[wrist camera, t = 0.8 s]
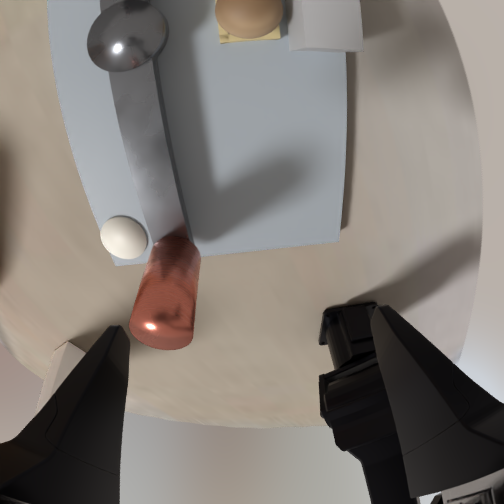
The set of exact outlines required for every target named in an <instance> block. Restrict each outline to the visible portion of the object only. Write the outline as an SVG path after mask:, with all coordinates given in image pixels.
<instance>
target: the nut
mask: <svg viewBox="0 0 504 504" xmlns="http://www.w3.org/2000/svg"><path fill="white" fill-rule="evenodd" d="M215 16H216V19H217V22H218V23H219V25H220V26H221V27H222V28H223V29H224V30H225V31H226V32H227V33H229V34H231V35H233V36H236V37H239V38H245V39H253V38H259V37H262V36H265V35H267V34H269V33H270V32H272V31H273V30H274V29H275V28H276V27H277V26H278V25H279V23H280V21H281V19H282V16H283V5H282V2H281V0H217V2H216V5H215Z"/></svg>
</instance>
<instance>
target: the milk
mask: <svg viewBox="0 0 504 504" xmlns="http://www.w3.org/2000/svg"><path fill="white" fill-rule="evenodd" d="M85 354H86V353H85V352H84V351H82V350H81V349H79V348H78V347H76V346H75V345H73V344H72V343H70V342H69V341H67V342H66V343H65V344H63V345H62V346H60V347H59V348H58V349H56V350H55V351H54V353H53V356H52V359H51V361H50V364H49V367H48V370H47V373H46V377H45V380H44V383H43V386H42V390H41V393H40V397H39V400H38V404H37V408H36V412H35V416H36V415H37V413H38V412H39V411H40V410H41V409H42V408H43V406H44V405H45V404H46V403H47V401H48V400H49V399H50V398H51V396H52V395H53V394H54V393H55V391H56V390H57V389H58V387H59V386H60V385H61V384H62V382H63V381H64V380H65V379H66V377H67V376H68V375H69V374H70V372H71V371H72V370H73V369H74V367H75V366H76V365H77V364H78V363H79V361H80V360H81V359H82V358H83V356H84V355H85ZM35 416H34V417H35Z"/></svg>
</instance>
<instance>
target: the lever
mask: <svg viewBox="0 0 504 504" xmlns="http://www.w3.org/2000/svg"><path fill="white" fill-rule="evenodd" d="M100 10H101V14H100V15H99V16H98V17H97V18H96V20H95V21H94V22H93V24H92V26H91V28H90V30H89V33H88V37H87V50H88V54H89V57H90V58H91V60H92V61H93V63H94V64H95V65H96V66H98V67H99V68H101V69H103V70H105V71H108V73H109V79H110V84H111V90H112V95H113V100H114V105H115V110H116V114H117V119H118V123H119V128H120V132H121V136H122V140H123V144H124V148H125V152H126V156H127V160H128V164H129V168H130V171H131V175H132V178H133V182H134V185H135V189H136V192H137V196H138V199H139V202H140V205H141V209H142V212H143V215H144V218H145V221H146V224H147V227H148V230H149V233H150V236H151V239H152V242H153V247H152V250H151V253H150V256H149V259H148V262H147V265H146V268H145V271H144V274H143V277H142V280H141V284H140V287H139V290H138V293H137V297H136V300H135V304H134V307H133V311H132V314H131V318H130V322H129V329H130V331H131V333H132V334H133V336H134V337H135V338H136V339H137V340H139V341H140V342H142V343H143V344H145V345H147V346H150V347H153V348H157V349H162V350H176V349H180V348H183V347H185V346H187V345H188V344H190V343H191V341H192V339H193V332H194V321H195V310H196V299H197V289H198V280H199V271H200V262H201V255H200V252H199V250H198V248H197V247H196V246H195V243H194V239H193V235H192V231H191V227H190V223H189V219H188V215H187V211H186V206H185V202H184V198H183V193H182V189H181V184H180V180H179V175H178V170H177V166H176V161H175V156H174V151H173V146H172V141H171V136H170V131H169V126H168V120H167V115H166V109H165V104H164V98H163V92H162V86H161V80H160V73H159V67H158V60H157V57H158V56H159V55H160V54H161V52H162V51H163V49H164V48H165V46H166V43H167V41H168V37H169V25H168V21H167V19H166V17H165V15H164V14H163V13H162V12H161V11H160V10H159V9H157V8H156V7H154V6H153V5H151V3H150V0H100Z"/></svg>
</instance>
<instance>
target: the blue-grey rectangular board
mask: <svg viewBox="0 0 504 504" xmlns="http://www.w3.org/2000/svg"><path fill="white" fill-rule="evenodd" d="M216 2H217V0H150V3H151V5H153V6H154V7H156V8H157V9H159V10H160V11H161V12H162V13H163V14H164V15H165V17H166V19H167V21H168V25H169V37H168V41H167V43H166V46H165V48H164V49H163V51H162V52H161V54H160V55H159V56H158V57H157V60H158V67H159V73H160V80H161V86H162V92H163V98H164V104H165V109H166V115H167V120H168V126H169V131H170V136H171V141H172V146H173V151H174V156H175V161H176V166H177V170H178V175H179V180H180V184H181V189H182V193H183V198H184V202H185V206H186V211H187V215H188V219H189V223H190V227H191V231H192V235H193V239H194V243H195V246H196V247H197V248H198V250H199V252H200V255H201V257H204V256H213V255H223V254H232V253H241V252H250V251H259V250H268V249H277V248H286V247H295V246H304V245H314V244H323V243H332V242H339V235H340V226H341V216H342V205H343V192H344V178H345V160H346V133H347V76H346V52H364V47H363V31H362V18H361V8H360V0H281V2H282V5H283V16H282V19H281V21H280V23H279V25H278V26H277V27H276V28H275V29H274V30H273V31H272V32H270V33H269V34H267V35H265V36H262V37H259V38H253V39H245V38H239V37H236V36H233V35H231V34H229V33H227V32H226V31H225V30H224V29H223V28H222V27H221V26H220V25H219V23H218V22H217V19H216V16H215V5H216ZM47 13H48V28H49V39H50V48H51V56H52V64H53V70H54V76H55V82H56V87H57V92H58V97H59V102H60V107H61V111H62V115H63V120H64V124H65V128H66V131H67V135H68V139H69V143H70V146H71V150H72V153H73V156H74V160H75V163H76V166H77V169H78V172H79V175H80V178H81V181H82V184H83V187H84V190H85V193H86V196H87V198H88V201H89V204H90V206H91V209H92V212H93V214H94V217H95V219H96V222H97V224H98V227H99V229H100V232H101V240H102V243H103V245H104V246H105V248H106V249H107V250H108V251H109V252H110V255H111V257H112V259H113V261H114V263H115V265H116V266H123V265H132V264H141V263H147V262H148V259H149V256H150V253H151V250H152V247H153V242H152V239H151V236H150V233H149V230H148V227H147V224H146V221H145V218H144V215H143V212H142V209H141V205H140V202H139V199H138V196H137V192H136V189H135V185H134V182H133V178H132V175H131V171H130V168H129V164H128V160H127V156H126V152H125V148H124V144H123V140H122V136H121V132H120V128H119V123H118V119H117V114H116V110H115V105H114V100H113V95H112V90H111V84H110V79H109V73H108V71H105V70H103V69H101V68H99V67H98V66H96V65H95V64H94V63H93V61H92V60H91V58H90V57H89V54H88V50H87V37H88V33H89V30H90V28H91V26H92V24H93V22H94V21H95V20H96V18H97V17H98V16H99V15H100V14H101V10H100V0H47Z"/></svg>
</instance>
